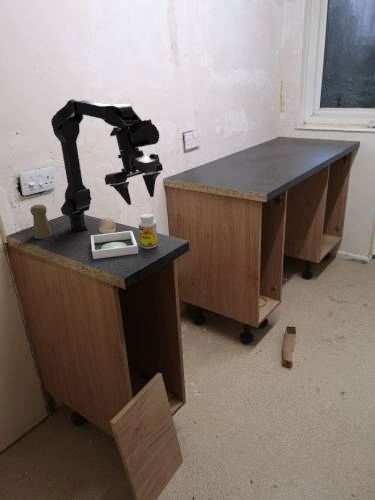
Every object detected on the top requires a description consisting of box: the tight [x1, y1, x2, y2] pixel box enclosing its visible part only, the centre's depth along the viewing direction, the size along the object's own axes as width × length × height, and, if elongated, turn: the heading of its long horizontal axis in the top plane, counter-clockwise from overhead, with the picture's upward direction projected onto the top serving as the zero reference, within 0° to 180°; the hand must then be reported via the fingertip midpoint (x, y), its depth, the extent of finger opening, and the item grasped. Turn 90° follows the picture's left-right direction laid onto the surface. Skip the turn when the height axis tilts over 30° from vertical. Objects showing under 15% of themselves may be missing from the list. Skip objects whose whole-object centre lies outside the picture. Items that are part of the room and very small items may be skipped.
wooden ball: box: [98, 217, 117, 234], centre depth 136 cm, size 6×6×6 cm
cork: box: [30, 203, 53, 240], centre depth 137 cm, size 6×6×11 cm
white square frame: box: [90, 230, 139, 260], centre depth 127 cm, size 14×14×2 cm
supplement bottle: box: [138, 213, 158, 249], centre depth 126 cm, size 6×6×10 cm
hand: (141, 200), depth 121 cm, fingers open, 9 cm apart
